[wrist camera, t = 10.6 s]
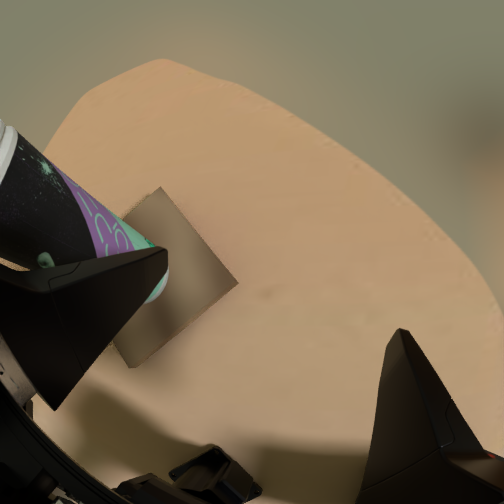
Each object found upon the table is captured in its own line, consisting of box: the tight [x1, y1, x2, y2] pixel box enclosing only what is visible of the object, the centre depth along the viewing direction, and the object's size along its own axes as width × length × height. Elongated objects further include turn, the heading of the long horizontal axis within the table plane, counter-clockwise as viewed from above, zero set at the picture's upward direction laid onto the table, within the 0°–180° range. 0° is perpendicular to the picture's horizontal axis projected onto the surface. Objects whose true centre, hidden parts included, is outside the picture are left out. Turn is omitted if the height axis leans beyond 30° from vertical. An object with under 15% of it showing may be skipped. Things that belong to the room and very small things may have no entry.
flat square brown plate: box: [113, 186, 238, 368], centre depth 24 cm, size 12×12×2 cm
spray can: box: [0, 119, 169, 304], centre depth 13 cm, size 6×6×20 cm
